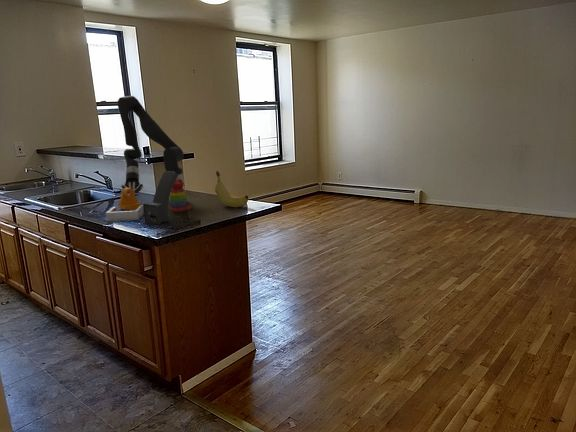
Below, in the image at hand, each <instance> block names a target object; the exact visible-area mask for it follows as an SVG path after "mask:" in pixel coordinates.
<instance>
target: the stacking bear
mask: <svg viewBox="0 0 576 432" xmlns="http://www.w3.org/2000/svg"><path fill="white" fill-rule="evenodd" d="M183 185H184V180H183V181H182V179H176V181H175V183H174V185H173V187H172V188H173V189H172V190H171V193H170V200H169V203H170V206H171V208H170V212H174V213H178V212H180V213H181V212H186V211H188V210H191V209H192V206H191V205H188V204H187V202H188V196H187V192H186V190H185V191H184V189H183ZM184 186H185V185H184Z"/></svg>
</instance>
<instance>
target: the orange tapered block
mask: <svg viewBox="0 0 576 432" xmlns="http://www.w3.org/2000/svg"><path fill="white" fill-rule="evenodd" d="M128 191H129V194H128ZM134 194H135V195H134ZM118 203H119V204H118V207H119V209H122V210H123V211H134V210H136V209H137V208H138V207H139V206H140V205H143V204H142V202H139V200H138V199H137V197H136V193H135V192H134V190H133V189H131V188H127V187H126V188H124V189H122V191H121V195H120V199H119V202H118Z"/></svg>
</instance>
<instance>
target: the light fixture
mask: <svg viewBox="0 0 576 432" xmlns="http://www.w3.org/2000/svg"><path fill="white" fill-rule="evenodd" d="M177 177H178V174H177V173H176V172H170V171H166V170H165V171H164V172H163V174H162V175H161V178H159V179H160V180H159V182H158V184H157V186H156V190H155V193H154V195H153V200H152V202H151V203H147V202H143V204H142V205H143V210H144V214H143V216H144V223H146V224H149V225H150V224H151V225H156V226H157V225H158V226H159V225H161V223H166V222H169V202H170V200H169V196H170V193H171V190H172V187H173V185H174V183H175V181H176V179H177Z"/></svg>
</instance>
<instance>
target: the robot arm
mask: <svg viewBox="0 0 576 432" xmlns="http://www.w3.org/2000/svg"><path fill="white" fill-rule="evenodd" d="M117 109H118V112H119V116H120V120H121V122H122V127H123V133H124V139H125V145H126V146H129V147H133V148H126V149H125V150H124V151H123V156H124V159H125V161H126V171H125V183H124V184H122V185H121V189H122V190H123V189H124V188H131V189H133V190H134V192H135V194H134V195H135V196H136V194H139V192H140V191H142V189H143V188H144V184H143V183H140V171H139V170H140V169H139V160H134V159H136V158H140V157H141V158H142V157H143V155H142V150H141V148H140V146H139V142H138V135H137V130H136V128H135V126H134V124H133V123H132V122H131V120H130V113H132V112H133V113H134V114H135V115H136V116H137V117H138V119H139V124H140V129H141V130H142V132H143V133H144V134H145V135H146V136H147V137H148V138H149V139H150V140H152V141H153V142H155V143H156V144H158V145H160V146H161V147H162V148H163V149H164V150H163V154H162V156H163V163H164V169H165V171H170V172H176V173H177V174H178V177H177V179H182V181H183V182H184V175H183V169H182V168H181V167H179V165H178V163H179V162H182V161H183V160H184V156H185V155H184V151H183V150H182V149H181V147H180V146H179V145H178V144H176V142H175V141H173V140H172V139H171V138H170V136H168V135H167V133H165V131H164V130H163V129H162V127H160V125H159V124H158V123H157V122H156V121H155V120H154V119H153V118H152V117H151V116H150V114H149V113H148V111H146V110H145V108H144V106H143V105H142V104H141V102H140V101H139V100H138V99H137V97H135V96H133V95H126V96H121V97H119V98H118V99H117ZM172 189H173V188H172ZM183 189H184V191H185V192H186V190H185V185H183ZM128 194H129V191H128ZM169 201H170V196H169Z"/></svg>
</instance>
